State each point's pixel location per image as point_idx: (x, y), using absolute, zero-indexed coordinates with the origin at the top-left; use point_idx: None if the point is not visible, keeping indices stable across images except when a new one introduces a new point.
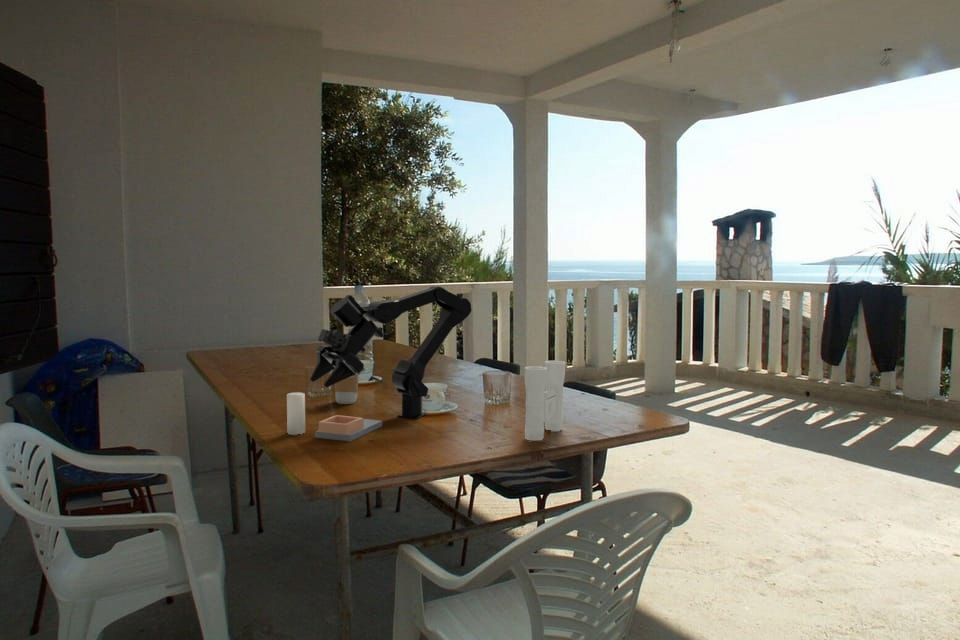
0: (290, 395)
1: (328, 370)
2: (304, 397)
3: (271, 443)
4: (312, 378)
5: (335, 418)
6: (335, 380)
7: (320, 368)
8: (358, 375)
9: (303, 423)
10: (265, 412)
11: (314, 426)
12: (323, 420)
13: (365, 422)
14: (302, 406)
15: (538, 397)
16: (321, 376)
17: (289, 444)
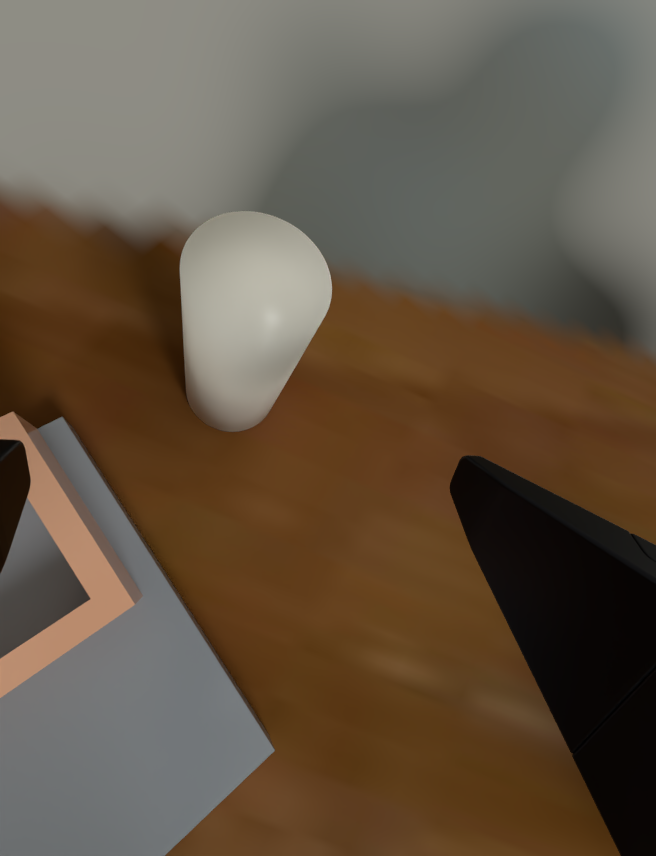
0: (225, 217)
1: (586, 749)
2: (209, 339)
3: (112, 225)
4: (469, 478)
5: (77, 573)
6: None
7: (595, 606)
8: None
9: (191, 392)
10: (631, 430)
11: (303, 515)
12: (30, 456)
13: (57, 826)
14: (188, 342)
15: None
16: (497, 601)
17: (30, 270)
